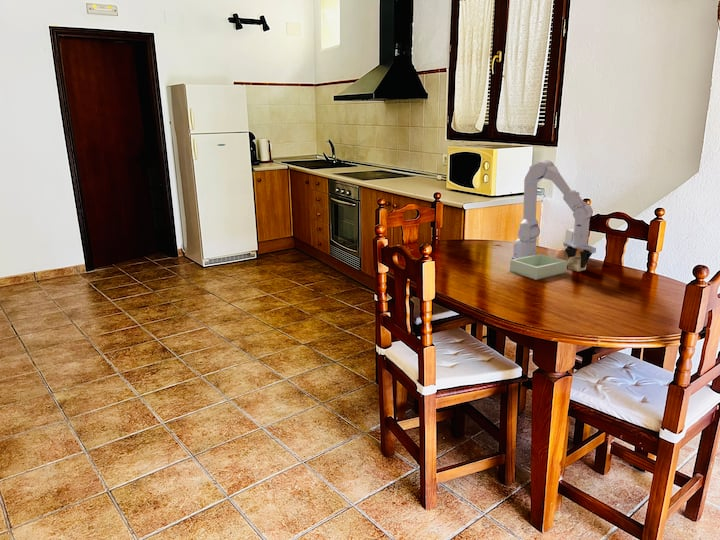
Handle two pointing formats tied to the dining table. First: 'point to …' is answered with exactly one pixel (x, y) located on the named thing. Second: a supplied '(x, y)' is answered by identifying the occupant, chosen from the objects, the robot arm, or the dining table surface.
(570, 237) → the small box
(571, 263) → the birch cube
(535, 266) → the tote
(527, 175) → the robot arm
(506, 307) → the dining table surface
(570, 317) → the dining table surface
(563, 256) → the terracotta capsule
